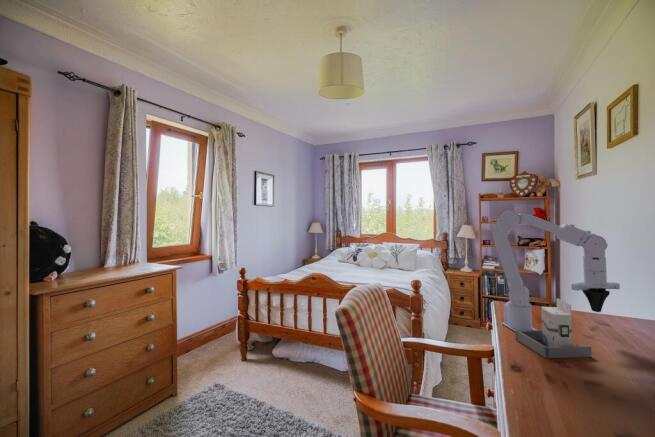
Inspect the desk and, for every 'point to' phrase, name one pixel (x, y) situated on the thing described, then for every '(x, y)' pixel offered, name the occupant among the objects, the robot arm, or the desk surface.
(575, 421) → the desk surface
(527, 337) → the frame
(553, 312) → the ink box
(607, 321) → the desk surface
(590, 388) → the desk surface
